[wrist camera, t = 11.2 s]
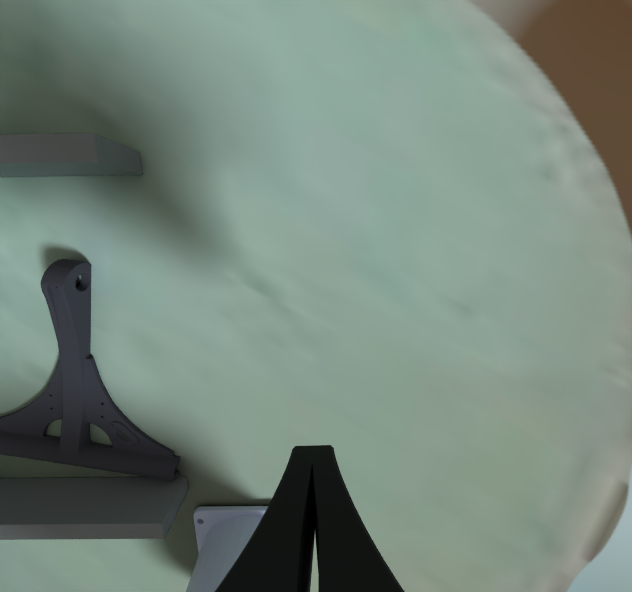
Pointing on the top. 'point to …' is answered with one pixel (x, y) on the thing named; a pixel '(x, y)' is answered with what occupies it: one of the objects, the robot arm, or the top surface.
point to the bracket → (80, 396)
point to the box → (81, 493)
